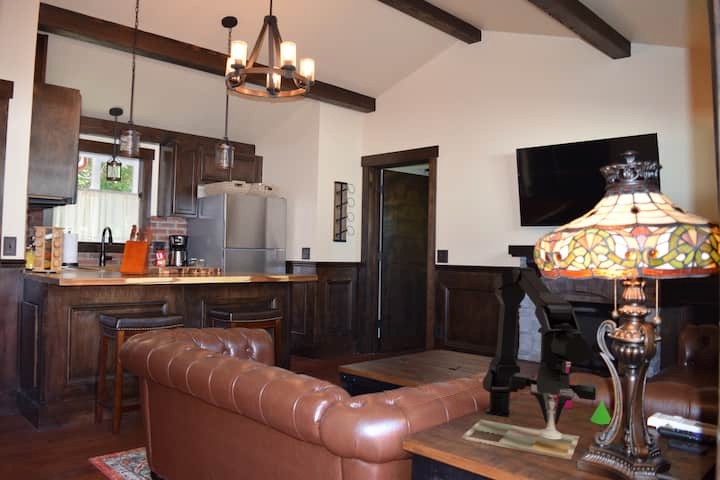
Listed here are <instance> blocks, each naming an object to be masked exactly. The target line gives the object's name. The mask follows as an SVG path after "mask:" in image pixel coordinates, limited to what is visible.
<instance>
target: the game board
mask: <svg viewBox="0 0 720 480" xmlns="http://www.w3.org/2000/svg"><path fill="white" fill-rule="evenodd" d="M540 430H541V429H538V428H531V427H526V426H520V425H515V424H508V423H502V422H497V421H492V420H491V421H490V420H485V419H480V420H479V421H478V422H476V423H475V424H474V425H473V426H471V427H470V429H468V430H467V431H466V432H465V433H464V434H463V435H462V436H461V440H464V441H470V442H474V443H475V442H476V443H480V442H481V444H485V443H486V445H490V444H491V445H490V446H497V447H502V448H507V449H512V450H517V451H521V452H522V451H524V452H527V453H533V454H538V455H542V456H548V457H552V458H553V457H554V458H559V459H563V460H564V459H565V460H571V459H572V458H573V455H574V452H575V450H576V448H577V444H578V443H579V439H580V436H579V435H573V434H568V433H567V434H566V433H561V434H562V438H561V439H549V438H545V437H542V436H541V435H540V434H539V433H540ZM476 431H478V432H481V431H483V432H482V433H487V432H489V433H488V434H492V433H494V434H493V435H498V434H499V435H498V436H502V437H501V438H500V439H499V441H498V442H497V441H492V440H488V439H481V438H477V437H471V435H473V433H474V432H476Z"/></svg>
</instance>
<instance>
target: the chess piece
mask: <svg viewBox="0 0 720 480" xmlns="http://www.w3.org/2000/svg"><path fill="white" fill-rule="evenodd" d="M548 397H549V399H548V410H547V412H548V423H547V426H546V427H545V428H542V429H539V430H540V433H539V434H540V435H541V436H542V437H545V438H549V439H561V438H562V434H563V433H561V432H560V431H559V430H557V428H556V427H555V425H556V424H555V414H556V411H557V409H555V408H556V407H555V406H556V404H557V401H556V400H554V397H557V395H551V394H550V393H548ZM550 398H551V399H550Z"/></svg>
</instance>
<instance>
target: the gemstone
mask: <svg viewBox="0 0 720 480" xmlns="http://www.w3.org/2000/svg"><path fill="white" fill-rule="evenodd" d="M610 420H612V418H611V416H610V413H609V412H608V410H607V408H606V405H605V404H604V401H603V400H601V401H600V402H599V405H598V406H597V408H596V410H595V411H594V412H593V414H592V416H591V418H590V421H591V422H592V423H595V424H598V425H604V424H609V422H610Z"/></svg>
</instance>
